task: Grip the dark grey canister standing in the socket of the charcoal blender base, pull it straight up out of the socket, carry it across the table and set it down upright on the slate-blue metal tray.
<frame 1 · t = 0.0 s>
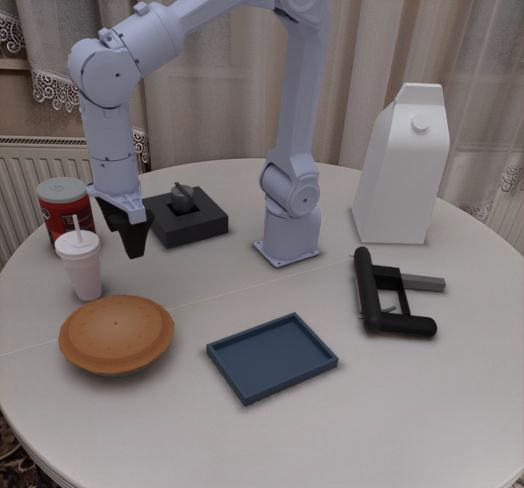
hand: (126, 242, 74), 10 cm above the table, tool pointing down, fingers open, 7 cm apart
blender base: (184, 224, 97), on the table
dark grey canister: (183, 206, 94), in the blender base
tray: (271, 359, 73), on the table
door handle: (397, 299, 84), on the table
canned food: (75, 246, 90), on the table
pie: (120, 349, 73), on the table
smoothie: (89, 294, 81), on the table
milk: (386, 227, 100), on the table
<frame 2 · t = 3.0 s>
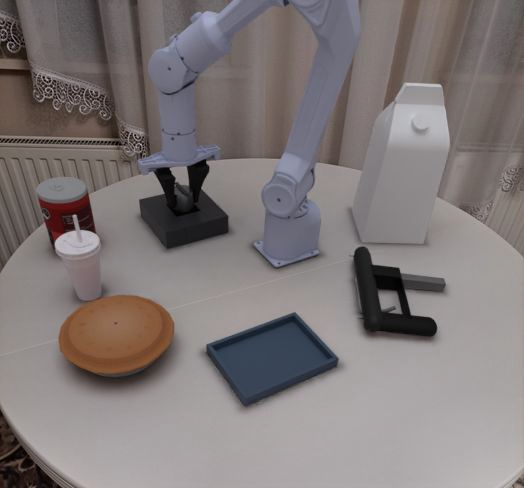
hand: (182, 203, 93), 4 cm above the table, tool pointing down, fingers closed on dark grey canister, 4 cm apart
dark grey canister: (183, 206, 94), in the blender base, touching gripper
everything else where it was.
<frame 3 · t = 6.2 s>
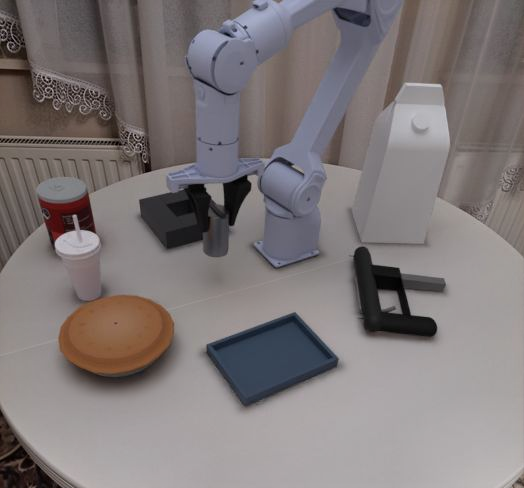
hand: (216, 226, 78), 10 cm above the table, tool pointing down, fingers closed on dark grey canister, 4 cm apart
dark grey canister: (215, 230, 78), point 10 cm above the table, touching gripper
everything else where it was.
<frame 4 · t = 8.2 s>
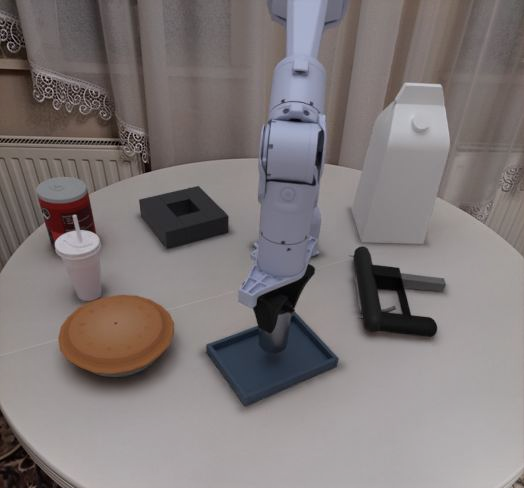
hand: (275, 319, 67), 8 cm above the table, tool pointing down, fingers closed on dark grey canister, 4 cm apart
dark grey canister: (274, 323, 68), point 7 cm above the table, touching gripper
everything else where it was.
when the fingers open (5 cm above the table, at t = 9.4 s): dark grey canister stays where it is, resting on tray.
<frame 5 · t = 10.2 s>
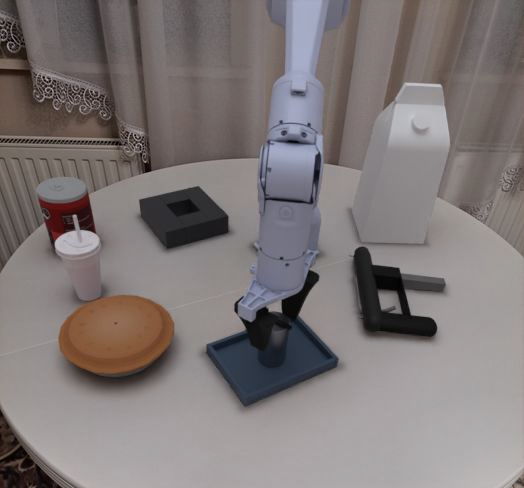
hand: (274, 330, 69), 6 cm above the table, tool pointing down, fingers open, 7 cm apart
dark grey canister: (273, 339, 70), in the tray
everything else where it was.
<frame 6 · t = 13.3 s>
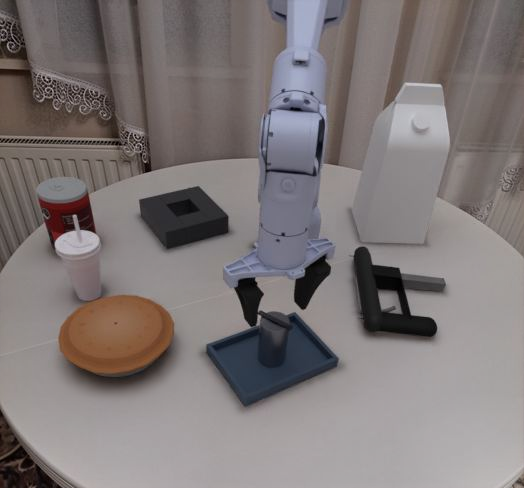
hand: (275, 313, 67), 9 cm above the table, tool pointing down, fingers open, 7 cm apart
nothing on the table moved.
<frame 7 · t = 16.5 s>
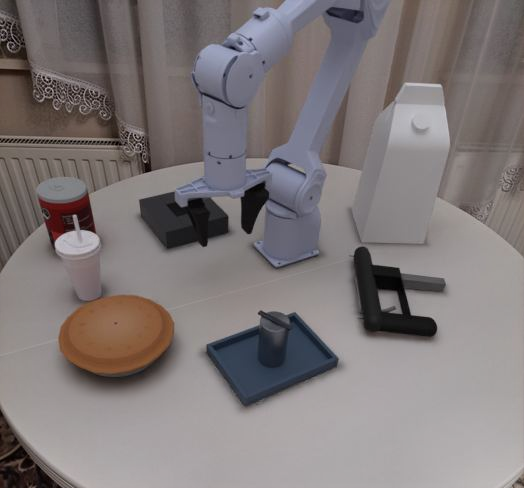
hand: (224, 237, 77), 9 cm above the table, tool pointing down, fingers open, 7 cm apart
nothing on the table moved.
at the end: dark grey canister inside the target area in the tray (0.1 cm from its centre), point 4.1 cm above the tray's base; dark grey canister tilted 0°; the gripper is holding nothing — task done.
